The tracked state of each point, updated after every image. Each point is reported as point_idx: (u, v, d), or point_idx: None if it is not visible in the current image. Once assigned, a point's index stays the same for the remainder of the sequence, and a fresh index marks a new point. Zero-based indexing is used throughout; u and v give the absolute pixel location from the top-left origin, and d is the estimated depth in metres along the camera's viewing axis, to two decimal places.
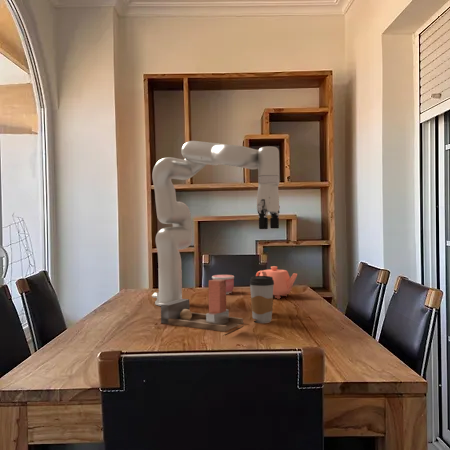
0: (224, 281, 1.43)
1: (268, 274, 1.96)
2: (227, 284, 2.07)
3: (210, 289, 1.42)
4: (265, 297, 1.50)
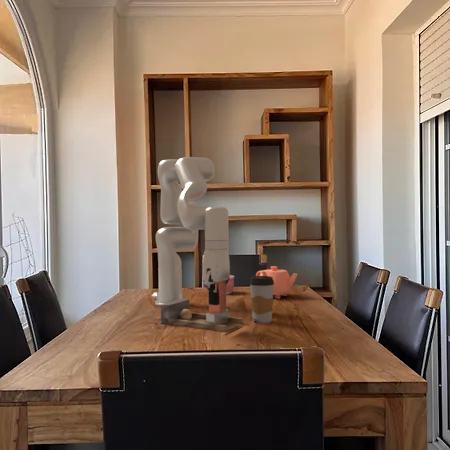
0: (224, 281, 1.43)
1: (268, 274, 1.96)
2: (227, 284, 2.07)
3: None
4: (265, 297, 1.50)
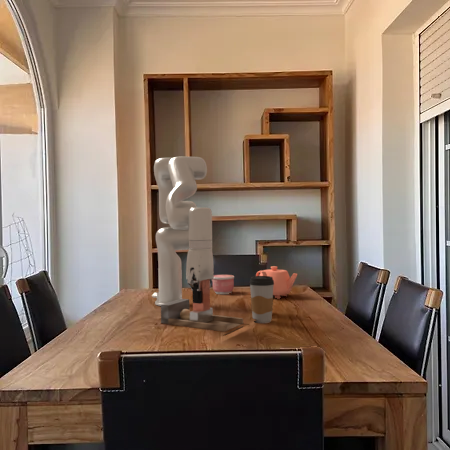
0: (208, 280, 1.46)
1: (268, 274, 1.96)
2: (227, 284, 2.07)
3: None
4: (265, 297, 1.50)
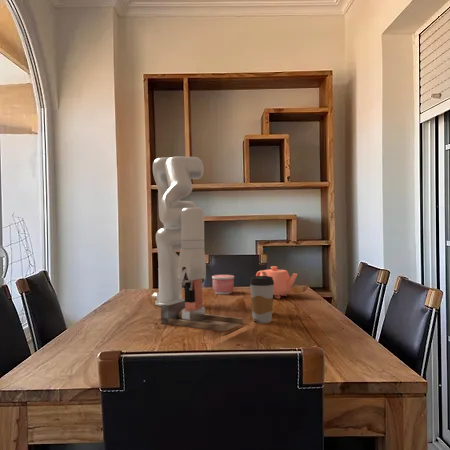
0: (200, 279, 1.48)
1: (268, 274, 1.96)
2: (227, 284, 2.07)
3: None
4: (265, 297, 1.50)
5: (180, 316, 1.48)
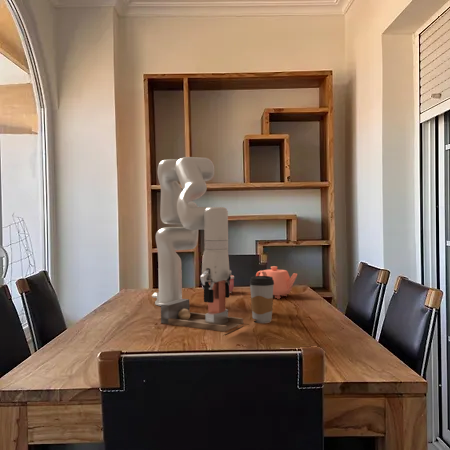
0: (223, 281, 1.43)
1: (268, 274, 1.96)
2: None
3: None
4: (265, 297, 1.50)
5: (180, 316, 1.48)
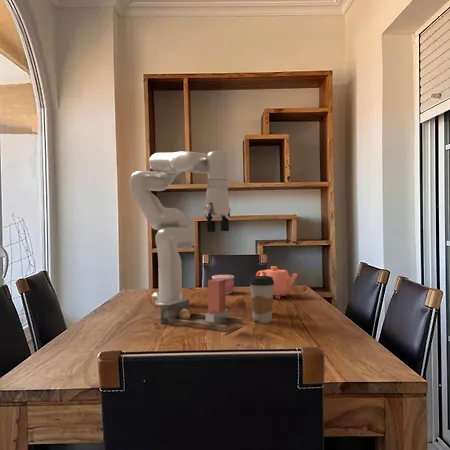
0: (223, 281, 1.43)
1: (268, 274, 1.96)
2: (227, 284, 2.07)
3: (209, 289, 1.42)
4: (265, 297, 1.50)
5: (180, 316, 1.48)
